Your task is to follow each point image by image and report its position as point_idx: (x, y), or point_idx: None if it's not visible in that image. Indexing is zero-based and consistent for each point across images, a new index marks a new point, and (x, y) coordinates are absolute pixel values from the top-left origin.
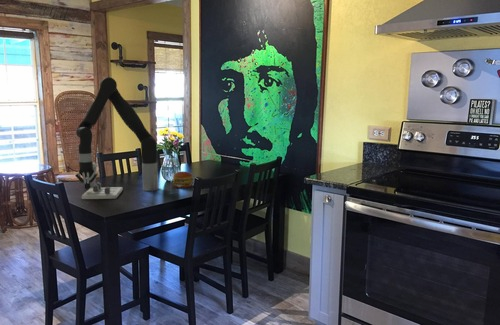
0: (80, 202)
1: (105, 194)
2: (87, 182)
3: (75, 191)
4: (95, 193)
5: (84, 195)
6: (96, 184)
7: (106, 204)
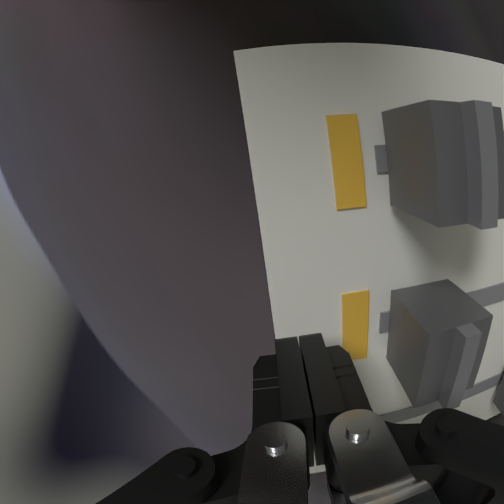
0: (310, 494)
1: (492, 400)
2: (335, 485)
3: (38, 145)
4: None
5: (316, 467)
6: (475, 347)
7: None
